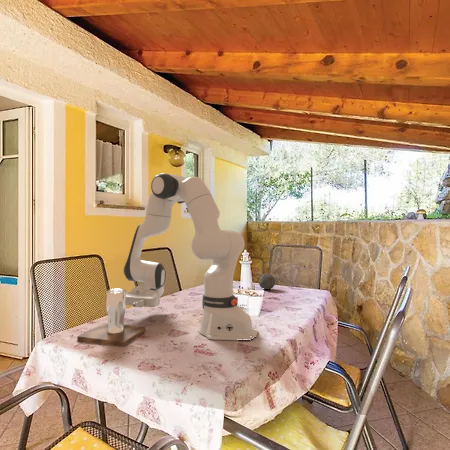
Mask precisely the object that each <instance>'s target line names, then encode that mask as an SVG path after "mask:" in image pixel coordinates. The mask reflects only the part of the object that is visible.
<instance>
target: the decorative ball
mask: <svg viewBox="0 0 450 450" xmlns="http://www.w3.org/2000/svg"><path fill="white" fill-rule="evenodd" d="M275 280H276V279H275V277H274V276H273V275H271V274H270V273H264V274H262V275H260V277H259V279H258V285H259V287H260V288H261V289H262V288H264V289H270V290H271V289H273V288H274V286H275V284H276V281H275ZM264 289H263V290H264Z"/></svg>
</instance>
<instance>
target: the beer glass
mask: <svg viewBox="0 0 450 450" xmlns="http://www.w3.org/2000/svg"><path fill="white" fill-rule="evenodd" d="M126 292H127V290H126V289H123V288H114V289H113V288H112V289H108V290H107V291H106V302H105V305H106V313H107V321H108V322H107V323H108V329H107V333H108V334H111V335H117V334H121V333H124V331H125V329H124V325H125V316H126V310H127V309H126V308H127V305H126Z"/></svg>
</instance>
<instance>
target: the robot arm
mask: <svg viewBox="0 0 450 450" xmlns="http://www.w3.org/2000/svg"><path fill="white" fill-rule="evenodd" d="M150 190H151V193H150V194H149V196H148V200H147V205H146V211H145V217H144V220H143V222H142V223H141V224H138V225H137V227H136V230H135V231H134V236H133V239H132V242H131V247H130V249H129V252H128V257H127V259H126V261H125V264H124V266H123V275H124V277H125V278H126V279H127V280H128V281H131V282H139V283H142V284H140V285H139V284H138V286H134V287H133V288H132V289H131V291H126V306H133V308H134V307H135V308H143V307H146V308H155V307H157V306H159V305H160V303H161V296H162V295H163V293H164V291H165V283H166V278H167V271H166V267H164V265H163V264H162V263H161V262H157V261H156V262H155V261H150V260H144V259H142V258H141V254H142V252H143V247H144V244H145V241H146V240H147V239H149V238H151V237H155V236H160V235H163V234H164V233H165V232H167V231H168V230H169V228H170V225H171V220H172V211H173V206H174V205H175V204H176V203H177V204H183V203H185V206H186V208H187V210H188V213H189V216H190V217H191V221H192V223H193V226H194V236H193V239H192V241H191V250H192V253H193V254H194V256H195V257H196V258H198V259H200V260H205V261H211V262H210V263H211V264H210V266H209V267H208V269H207V271H206V272H205V273H204V277H203V278H204V280H203V281H204V283H203V286H204V288H203V294H202V303H201V305H202V317H201V322H200V326H199V330H198V332H199V334H201V335H202V336H205V337H206V338H207V339H208V340H216V341H238V340H237V339H242V340H243V339H252V338H253V337H255V336H256V334H257V332H258V329H257V328H256V327H255V326H253V323H252V317H251V316H250V314H249V313H247V312H246V311H245V310H244V309H243V308H241V307H240V306H239V305H238V300H239V299H238V298H239V296H235V295H234V293H233V290H234V275H235V269H236V266H237V263H238V259H239V257H240V256H241V254H242V252H243V251H244V249H245V246H246V245H245V244H246V243H245V239H244V237H243V235H242V234H241V233H239V232H237V231H235V230H229V229H223V230H222V229H221V228H220V225H219V218H220V216H221V213H220V210H219V208H218V206H217V203H216V201H215V199H214V197H213V194H212V193H211V191H210V189H209V188H208V186H207V185H206V183H205V181H204V180H202V178H200V177H198V176H190V177H184V176H182V175H181V176H180V175H179V174H174V173H167V172H165V173H162V172H161V173H158V174H156V175H155V176H154V177H153V179H152V181H151V184H150ZM254 329H256V330H254ZM257 335H258V334H257ZM250 336H252V337H250ZM256 337H257V336H256Z"/></svg>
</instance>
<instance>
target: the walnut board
mask: <svg viewBox="0 0 450 450" xmlns="http://www.w3.org/2000/svg"><path fill="white" fill-rule="evenodd" d="M107 329H108V322H103V323H101V324H99V325H97V326H95V327H94V328H92V329H89V330H87V331H85V332H83V333H81V334H79V335H78V336H77V337H76V338H77V339H76V340H77V341H78V342H86V343H94V344H101V345H110V346H118V347H126V346H127V345H128V344H130V343H131V342H133V341H134V340H135V339H137V338H139V337H140V336H141V335H143V334H144V333H146V332H147V327H146V326H138V325H128V324H127V325H126V324H124V329H125V331H124V333H121V334H117V335H111V334H108V333H107Z"/></svg>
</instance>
